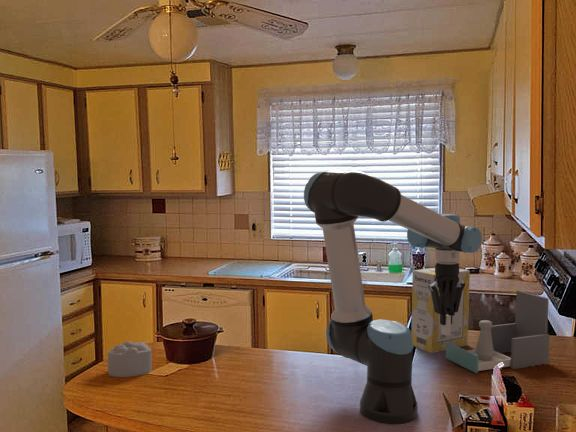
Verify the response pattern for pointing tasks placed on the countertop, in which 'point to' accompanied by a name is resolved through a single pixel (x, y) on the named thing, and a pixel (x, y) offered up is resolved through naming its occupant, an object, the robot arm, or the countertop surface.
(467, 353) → the tray
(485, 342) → the salt shaker
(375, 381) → the robot arm
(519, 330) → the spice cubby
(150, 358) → the lumpy-topped squat cylinder
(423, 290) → the pasta box
